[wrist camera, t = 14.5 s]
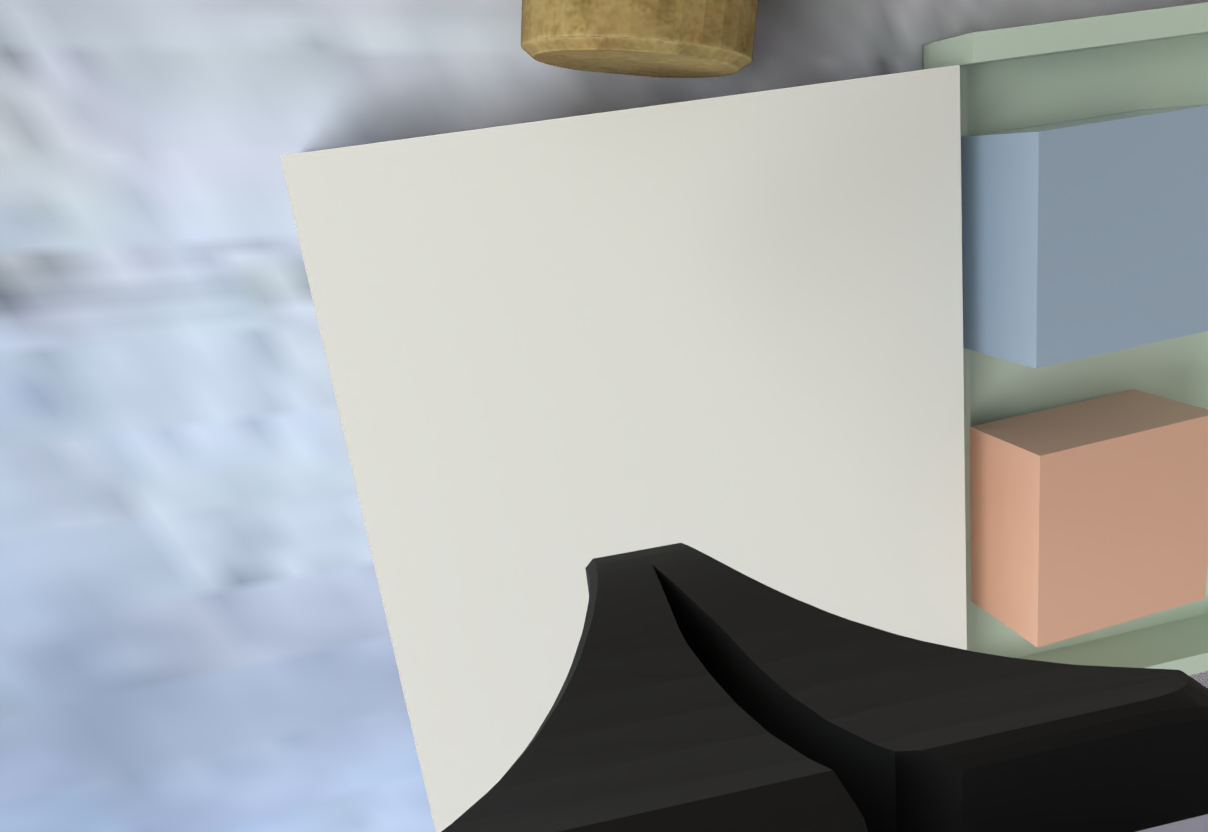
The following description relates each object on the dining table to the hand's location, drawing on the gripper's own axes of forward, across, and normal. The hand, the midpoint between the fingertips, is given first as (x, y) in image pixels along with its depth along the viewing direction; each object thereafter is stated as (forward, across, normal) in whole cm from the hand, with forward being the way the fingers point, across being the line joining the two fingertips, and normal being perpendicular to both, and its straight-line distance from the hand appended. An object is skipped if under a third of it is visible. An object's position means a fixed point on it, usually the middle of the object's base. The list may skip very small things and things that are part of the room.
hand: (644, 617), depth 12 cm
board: (+10, -2, +1) cm, 10 cm away
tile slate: (+9, -13, -3) cm, 16 cm away
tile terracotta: (+9, -13, +4) cm, 16 cm away
